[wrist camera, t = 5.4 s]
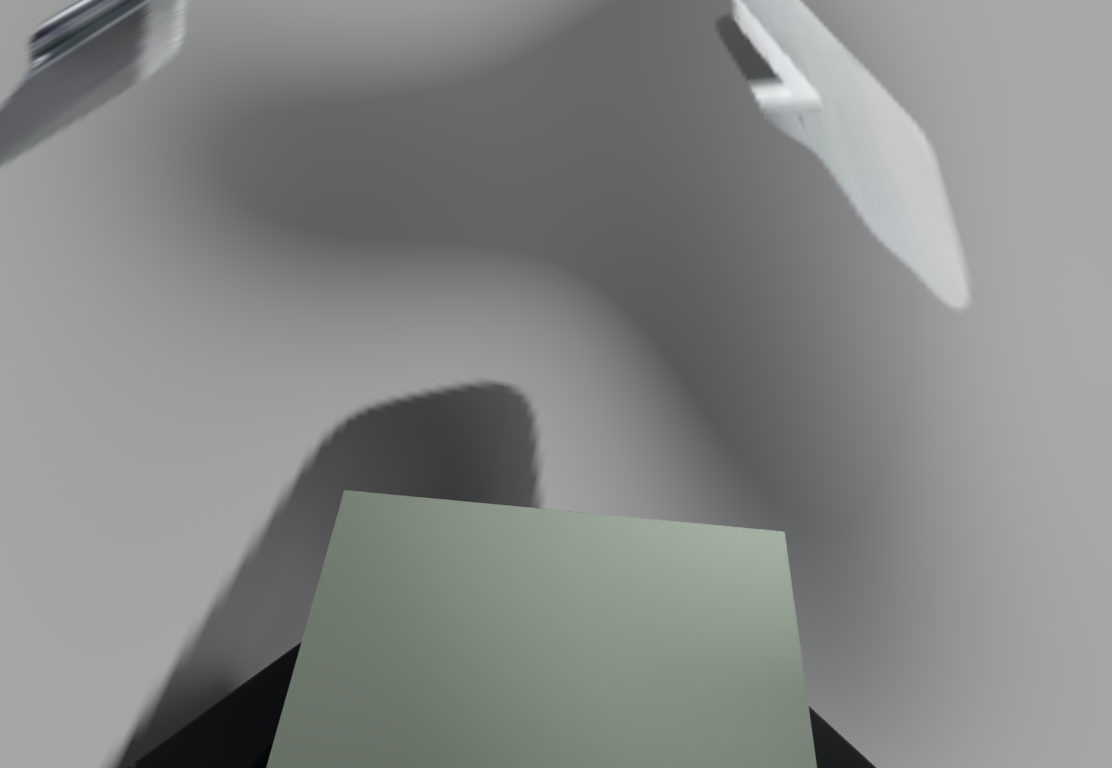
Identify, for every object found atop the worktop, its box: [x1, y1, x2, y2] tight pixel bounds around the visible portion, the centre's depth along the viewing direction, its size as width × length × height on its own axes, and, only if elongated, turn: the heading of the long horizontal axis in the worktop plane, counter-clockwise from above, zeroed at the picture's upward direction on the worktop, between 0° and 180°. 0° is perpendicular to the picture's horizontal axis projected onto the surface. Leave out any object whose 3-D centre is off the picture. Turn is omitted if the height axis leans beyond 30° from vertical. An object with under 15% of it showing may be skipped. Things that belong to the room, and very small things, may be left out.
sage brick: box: [266, 490, 817, 768], centre depth 9 cm, size 5×5×10 cm
